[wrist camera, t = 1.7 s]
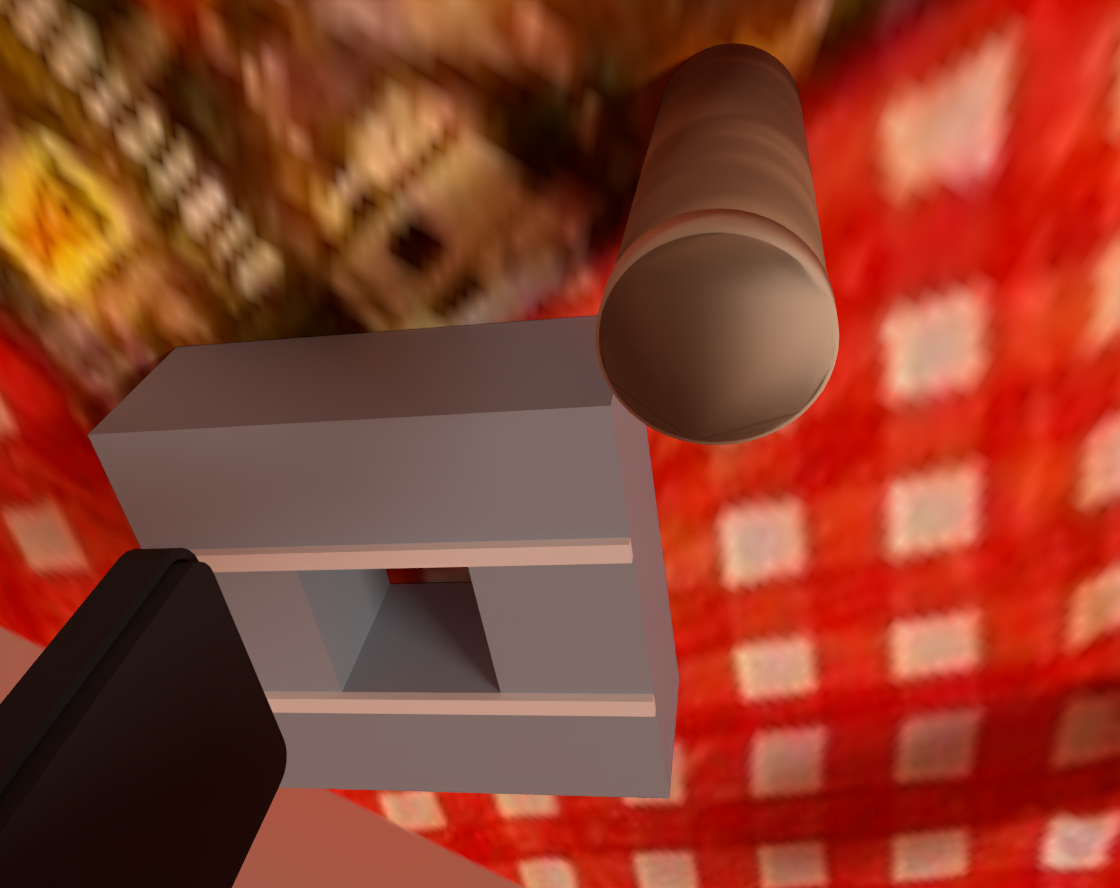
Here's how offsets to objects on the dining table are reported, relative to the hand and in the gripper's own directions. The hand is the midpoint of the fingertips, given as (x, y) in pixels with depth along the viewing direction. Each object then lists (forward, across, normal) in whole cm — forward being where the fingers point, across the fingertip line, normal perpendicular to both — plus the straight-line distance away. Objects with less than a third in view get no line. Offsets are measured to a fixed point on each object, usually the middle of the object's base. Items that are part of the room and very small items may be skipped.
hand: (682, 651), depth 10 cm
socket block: (+18, +10, +12) cm, 24 cm away
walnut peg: (+18, 0, 0) cm, 18 cm away
